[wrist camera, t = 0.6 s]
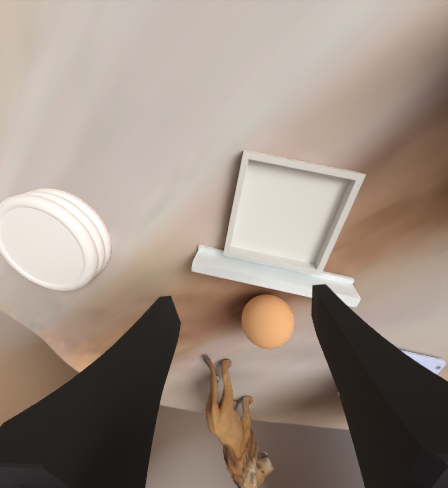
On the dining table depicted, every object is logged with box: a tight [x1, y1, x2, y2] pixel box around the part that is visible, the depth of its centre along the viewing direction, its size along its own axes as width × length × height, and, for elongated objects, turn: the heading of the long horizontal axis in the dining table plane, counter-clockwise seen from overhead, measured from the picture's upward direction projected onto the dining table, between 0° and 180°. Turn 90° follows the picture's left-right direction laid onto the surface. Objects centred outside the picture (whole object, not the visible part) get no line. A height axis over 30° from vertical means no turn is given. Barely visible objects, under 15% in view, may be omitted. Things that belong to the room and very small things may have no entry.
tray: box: [223, 149, 366, 276], centre depth 19 cm, size 9×9×1 cm
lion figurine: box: [203, 356, 273, 488], centre depth 28 cm, size 15×5×9 cm, turn 31°
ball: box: [242, 294, 294, 349], centre depth 22 cm, size 5×5×5 cm
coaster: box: [0, 188, 112, 291], centre depth 22 cm, size 10×10×4 cm
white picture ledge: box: [191, 245, 361, 307], centre depth 21 cm, size 2×15×2 cm, turn 80°
